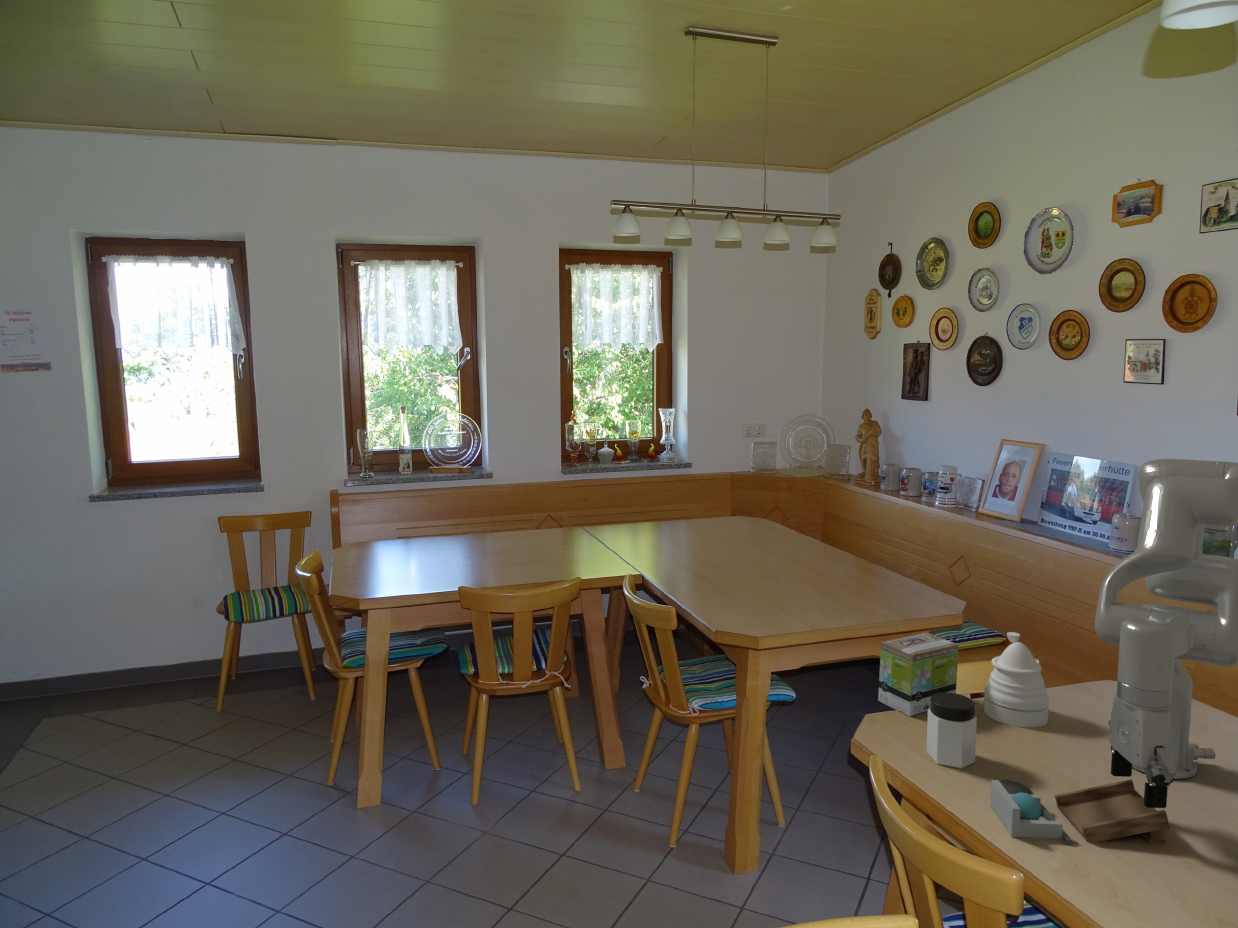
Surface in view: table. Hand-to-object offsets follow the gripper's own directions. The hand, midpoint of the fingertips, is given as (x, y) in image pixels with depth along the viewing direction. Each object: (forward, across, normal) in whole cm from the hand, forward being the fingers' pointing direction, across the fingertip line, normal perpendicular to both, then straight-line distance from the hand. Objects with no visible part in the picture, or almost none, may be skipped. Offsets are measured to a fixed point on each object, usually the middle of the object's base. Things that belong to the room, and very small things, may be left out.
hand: (1137, 790), depth 129 cm
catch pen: (+6, 0, -18) cm, 19 cm away
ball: (+4, 0, -18) cm, 18 cm away
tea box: (+7, -48, -22) cm, 53 cm away
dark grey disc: (+6, -10, -16) cm, 20 cm away
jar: (+6, -22, -23) cm, 32 cm away
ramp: (+6, 0, -4) cm, 7 cm away
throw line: (+6, 0, -14) cm, 15 cm away
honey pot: (+7, -43, -2) cm, 44 cm away
